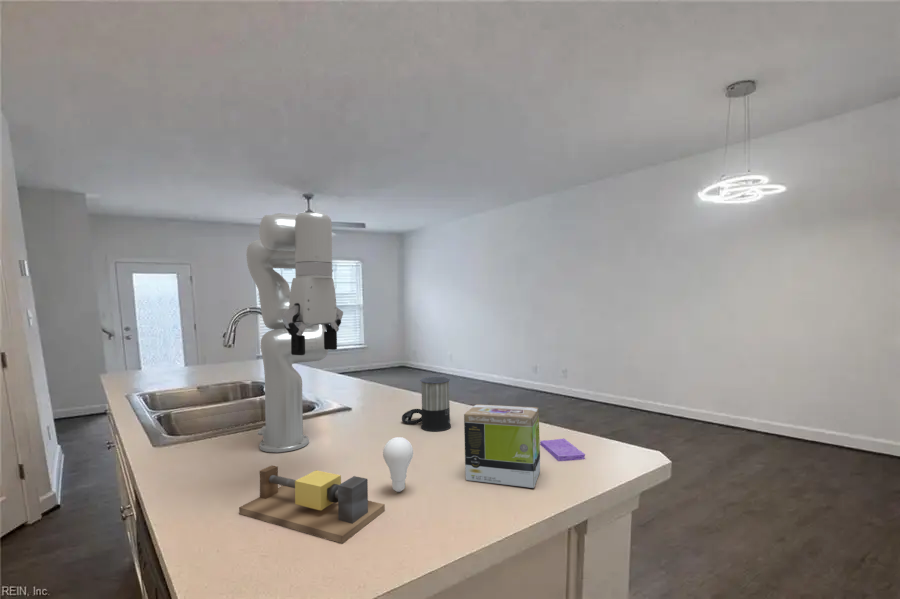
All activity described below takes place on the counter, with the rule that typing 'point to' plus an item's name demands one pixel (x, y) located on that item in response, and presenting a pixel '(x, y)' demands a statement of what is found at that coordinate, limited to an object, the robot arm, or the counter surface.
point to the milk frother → (432, 405)
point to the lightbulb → (398, 460)
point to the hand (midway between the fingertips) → (315, 352)
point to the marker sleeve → (315, 489)
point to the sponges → (562, 450)
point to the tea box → (502, 445)
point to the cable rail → (328, 523)
